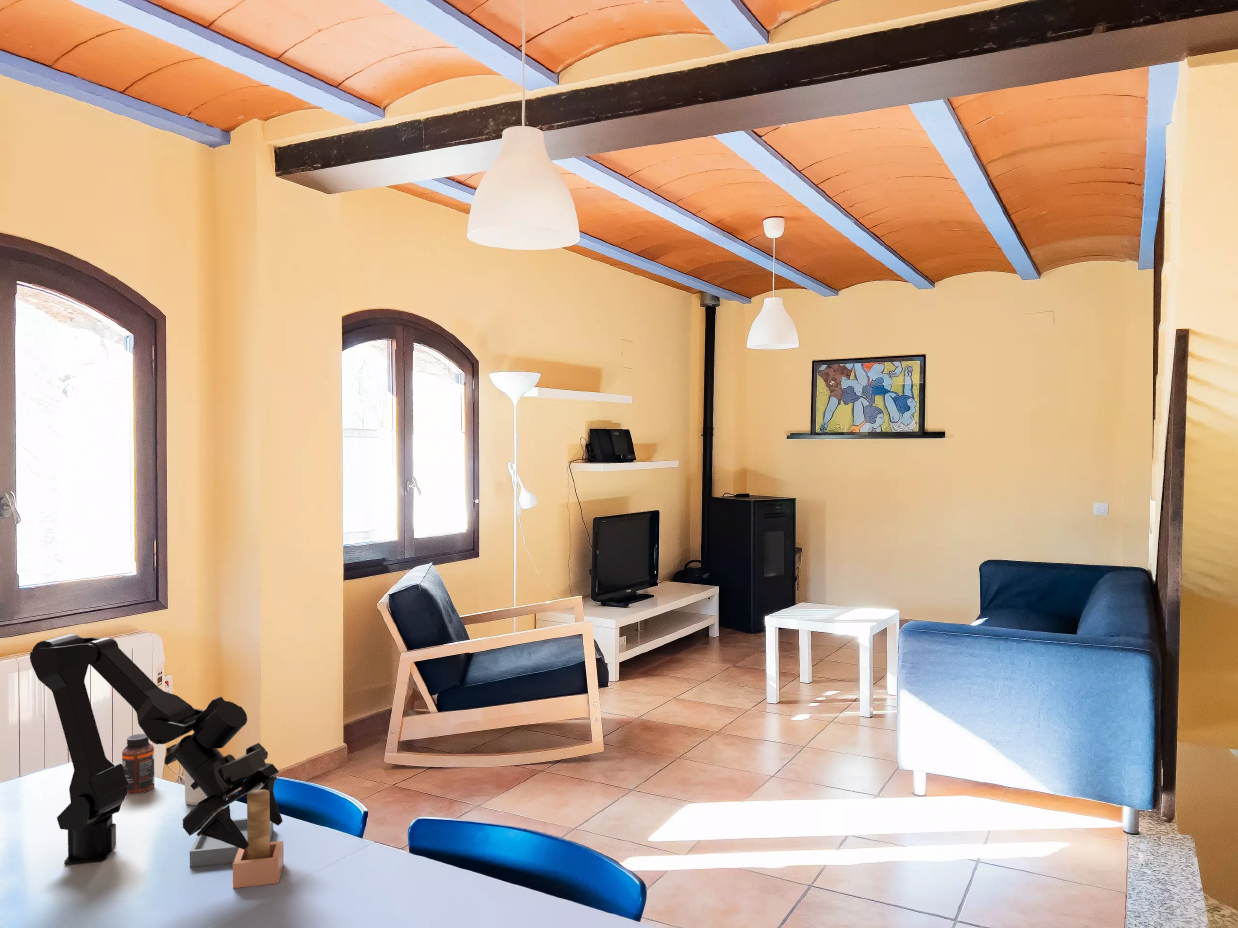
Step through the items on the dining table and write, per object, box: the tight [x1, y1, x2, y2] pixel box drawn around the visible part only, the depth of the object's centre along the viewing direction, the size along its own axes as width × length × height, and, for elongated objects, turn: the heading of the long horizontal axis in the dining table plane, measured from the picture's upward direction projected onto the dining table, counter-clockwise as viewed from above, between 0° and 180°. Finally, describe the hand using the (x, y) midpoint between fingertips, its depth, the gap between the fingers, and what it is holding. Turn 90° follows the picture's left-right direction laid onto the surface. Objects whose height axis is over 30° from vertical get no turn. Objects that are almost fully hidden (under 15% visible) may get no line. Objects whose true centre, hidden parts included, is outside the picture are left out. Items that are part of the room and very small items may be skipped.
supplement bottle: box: [121, 733, 156, 795], centre depth 185 cm, size 6×6×11 cm
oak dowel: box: [246, 790, 271, 860], centre depth 149 cm, size 4×4×14 cm
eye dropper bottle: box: [184, 769, 207, 806], centre depth 179 cm, size 4×6×12 cm
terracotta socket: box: [232, 840, 285, 889], centre depth 149 cm, size 7×7×4 cm
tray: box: [189, 817, 274, 868], centre depth 159 cm, size 12×12×3 cm
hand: (264, 835), depth 148 cm, fingers open, 9 cm apart
